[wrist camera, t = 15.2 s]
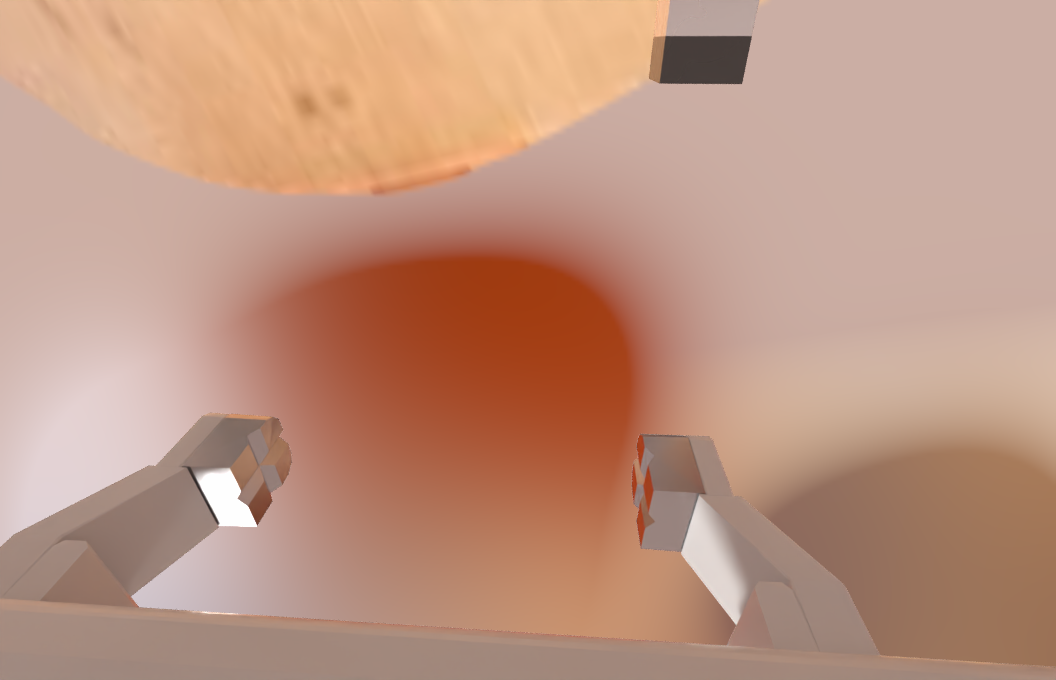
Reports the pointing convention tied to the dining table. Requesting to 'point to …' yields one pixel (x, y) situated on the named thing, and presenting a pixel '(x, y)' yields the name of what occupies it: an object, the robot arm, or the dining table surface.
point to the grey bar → (702, 41)
